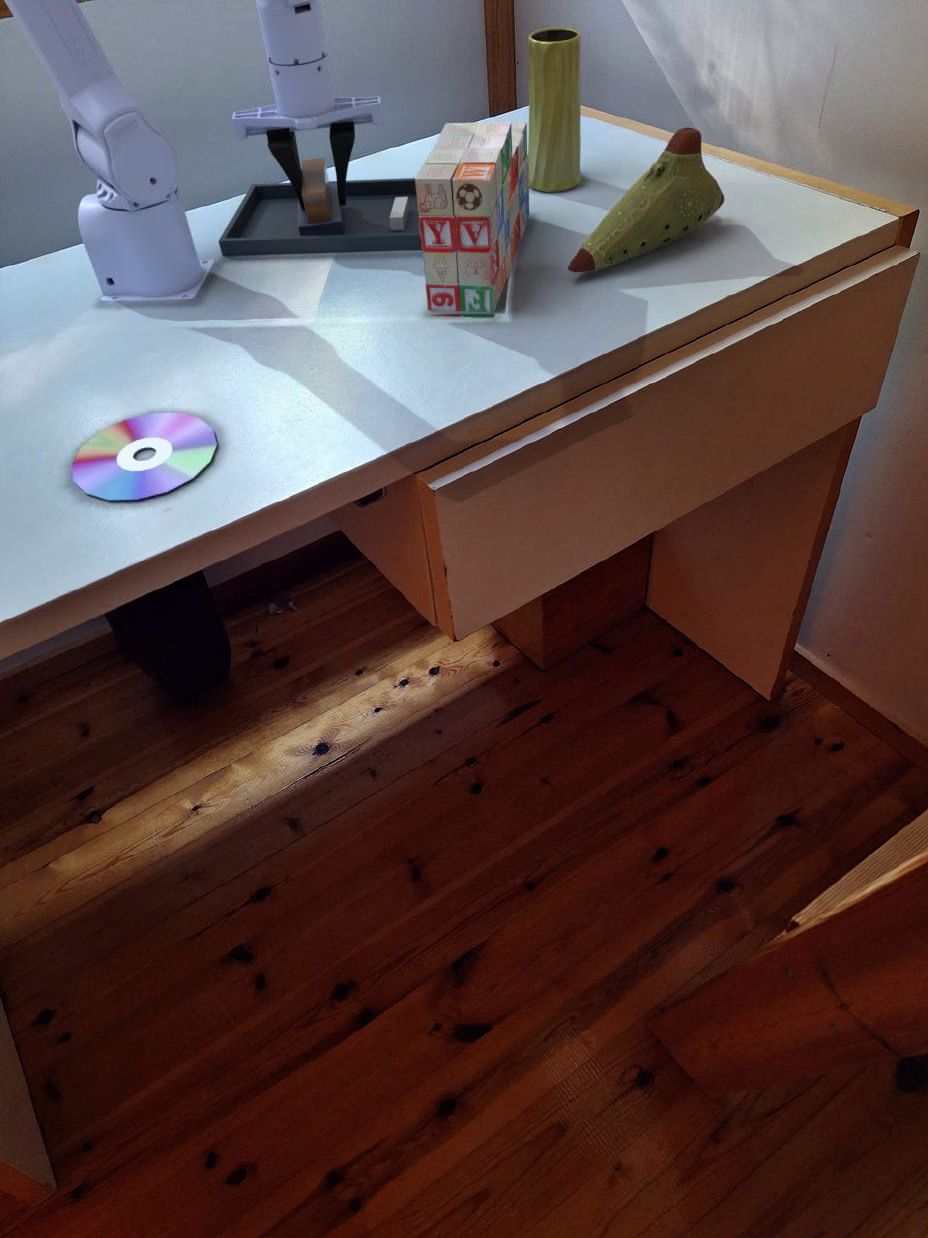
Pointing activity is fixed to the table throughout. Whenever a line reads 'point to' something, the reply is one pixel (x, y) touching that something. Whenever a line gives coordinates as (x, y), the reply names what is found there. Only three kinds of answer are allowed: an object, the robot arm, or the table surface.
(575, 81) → the vase
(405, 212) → the chalk
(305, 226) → the eraser
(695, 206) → the ocarina
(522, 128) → the stack of blocks
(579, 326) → the table surface
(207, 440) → the cd
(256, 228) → the tray
